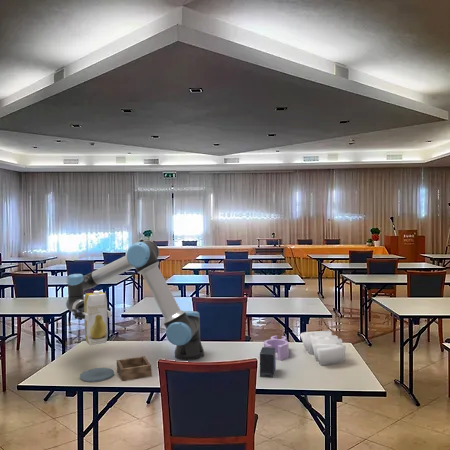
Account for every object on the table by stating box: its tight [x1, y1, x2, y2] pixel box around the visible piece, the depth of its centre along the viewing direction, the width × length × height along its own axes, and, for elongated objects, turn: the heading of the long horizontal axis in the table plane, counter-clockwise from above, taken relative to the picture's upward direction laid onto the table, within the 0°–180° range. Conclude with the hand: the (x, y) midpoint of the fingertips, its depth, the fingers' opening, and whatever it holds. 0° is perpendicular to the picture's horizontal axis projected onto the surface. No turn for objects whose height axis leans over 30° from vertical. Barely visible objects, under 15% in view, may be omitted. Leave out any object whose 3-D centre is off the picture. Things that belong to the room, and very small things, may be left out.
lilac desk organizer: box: [263, 335, 290, 362], centre depth 229 cm, size 20×12×7 cm, turn 165°
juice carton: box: [84, 290, 109, 346], centre depth 203 cm, size 9×8×24 cm
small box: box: [259, 346, 277, 378], centre depth 202 cm, size 11×6×10 cm, turn 168°
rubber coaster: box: [79, 367, 115, 383], centre depth 204 cm, size 15×15×1 cm
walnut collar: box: [116, 355, 152, 382], centre depth 206 cm, size 13×14×5 cm
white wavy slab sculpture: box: [299, 330, 347, 366], centre depth 223 cm, size 35×16×11 cm, turn 3°
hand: (99, 316), depth 200 cm, fingers closed on juice carton, 9 cm apart
